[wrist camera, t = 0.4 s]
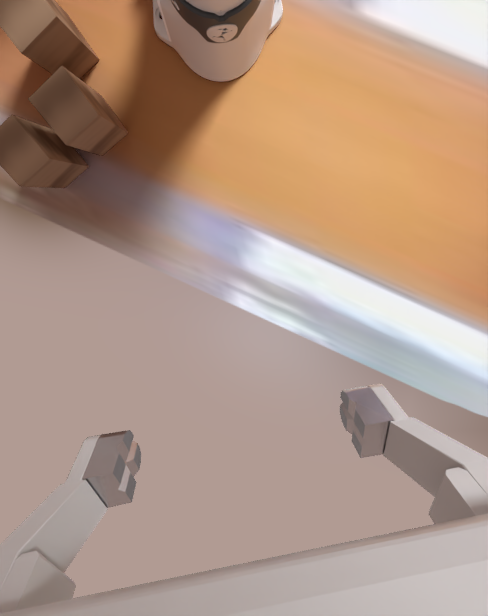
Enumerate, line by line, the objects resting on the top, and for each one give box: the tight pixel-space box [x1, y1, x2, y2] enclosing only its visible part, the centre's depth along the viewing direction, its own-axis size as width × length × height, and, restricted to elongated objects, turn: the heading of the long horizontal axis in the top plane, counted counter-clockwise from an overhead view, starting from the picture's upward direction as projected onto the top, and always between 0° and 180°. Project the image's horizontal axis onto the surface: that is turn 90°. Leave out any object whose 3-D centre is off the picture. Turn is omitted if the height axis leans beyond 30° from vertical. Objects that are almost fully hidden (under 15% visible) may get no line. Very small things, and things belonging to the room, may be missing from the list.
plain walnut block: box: [0, 115, 89, 188], centre depth 41 cm, size 6×6×11 cm
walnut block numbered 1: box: [28, 66, 128, 156], centre depth 39 cm, size 6×6×11 cm
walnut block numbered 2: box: [0, 0, 99, 79], centre depth 35 cm, size 6×6×11 cm
